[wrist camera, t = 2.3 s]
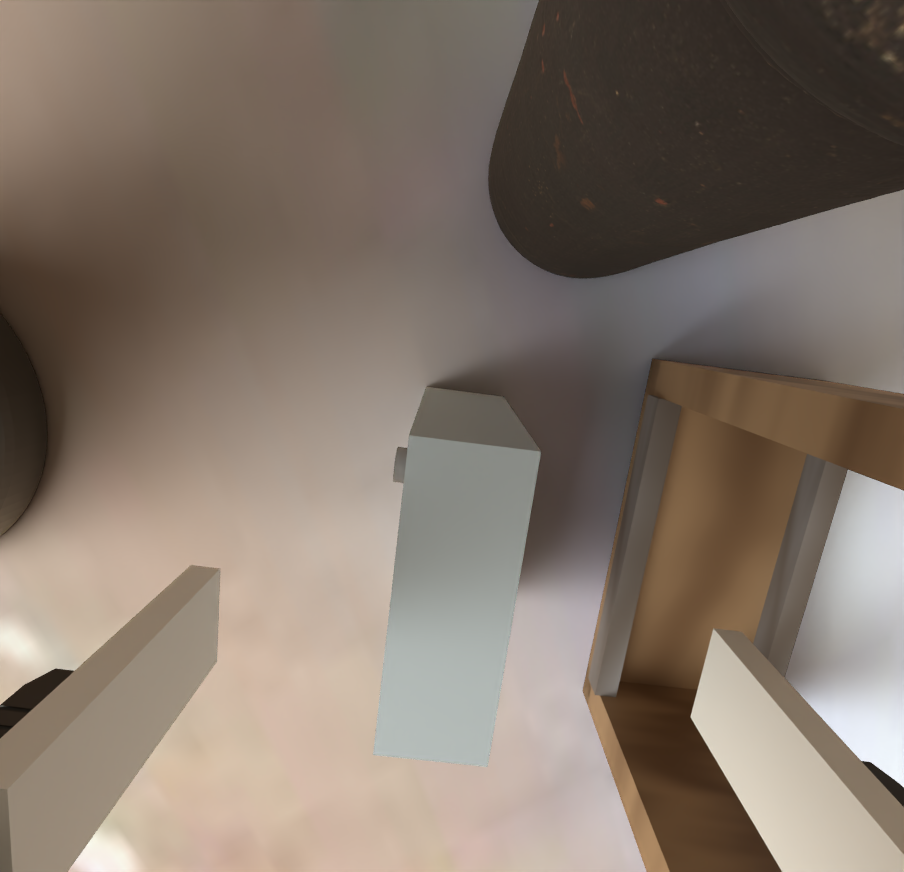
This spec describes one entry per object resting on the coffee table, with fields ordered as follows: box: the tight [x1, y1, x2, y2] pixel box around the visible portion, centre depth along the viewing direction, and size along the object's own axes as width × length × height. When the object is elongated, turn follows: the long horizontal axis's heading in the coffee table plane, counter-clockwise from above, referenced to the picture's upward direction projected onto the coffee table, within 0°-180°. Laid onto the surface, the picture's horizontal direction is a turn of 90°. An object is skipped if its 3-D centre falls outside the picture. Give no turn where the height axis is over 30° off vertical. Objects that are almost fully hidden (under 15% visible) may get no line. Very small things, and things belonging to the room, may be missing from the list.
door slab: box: [373, 387, 541, 767], centre depth 20 cm, size 4×10×10 cm, turn 173°
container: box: [488, 0, 904, 278], centre depth 12 cm, size 9×9×20 cm
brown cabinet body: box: [583, 359, 904, 872], centre depth 18 cm, size 8×17×14 cm, turn 173°
